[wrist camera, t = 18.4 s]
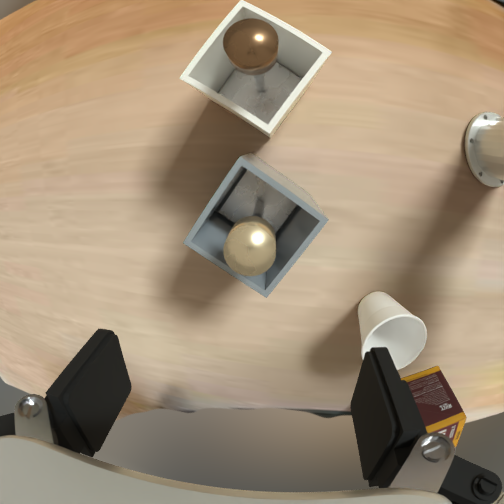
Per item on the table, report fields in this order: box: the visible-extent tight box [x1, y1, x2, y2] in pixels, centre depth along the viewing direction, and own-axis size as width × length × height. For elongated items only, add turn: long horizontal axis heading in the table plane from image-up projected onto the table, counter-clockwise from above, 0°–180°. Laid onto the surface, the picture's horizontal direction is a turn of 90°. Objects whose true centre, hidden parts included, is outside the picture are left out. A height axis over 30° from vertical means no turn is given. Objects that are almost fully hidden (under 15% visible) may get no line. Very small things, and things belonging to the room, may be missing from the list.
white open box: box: [180, 0, 332, 138], centre depth 31 cm, size 10×10×15 cm
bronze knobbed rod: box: [219, 18, 302, 124], centre depth 27 cm, size 8×8×19 cm
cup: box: [358, 291, 427, 370], centre depth 42 cm, size 10×10×11 cm
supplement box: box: [401, 366, 467, 447], centre depth 47 cm, size 10×15×16 cm
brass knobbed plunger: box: [219, 170, 297, 276], centre depth 33 cm, size 8×8×19 cm
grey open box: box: [183, 153, 329, 298], centre depth 36 cm, size 10×10×15 cm
